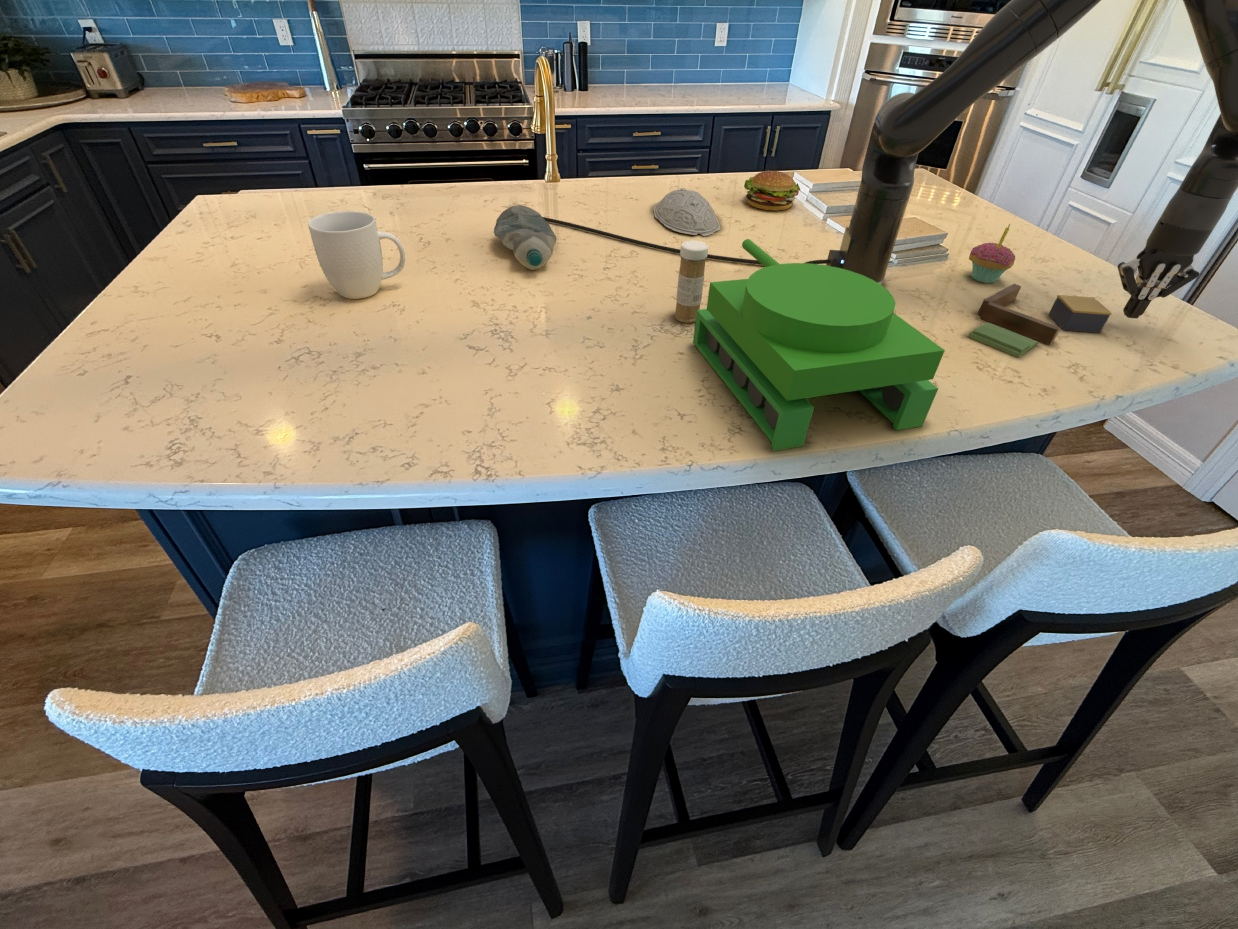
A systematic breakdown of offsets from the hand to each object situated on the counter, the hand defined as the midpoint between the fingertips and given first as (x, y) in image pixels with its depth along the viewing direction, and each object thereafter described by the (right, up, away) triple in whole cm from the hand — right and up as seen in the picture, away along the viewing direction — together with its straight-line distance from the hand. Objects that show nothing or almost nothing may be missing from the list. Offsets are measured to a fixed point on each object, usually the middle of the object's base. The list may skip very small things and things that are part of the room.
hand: (1130, 316), depth 115 cm
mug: (-141, +5, +2) cm, 141 cm away
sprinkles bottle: (-82, -1, -2) cm, 82 cm away
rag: (-26, -5, -5) cm, 27 cm away
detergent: (-113, +17, +18) cm, 116 cm away
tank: (-67, -13, -15) cm, 70 cm away
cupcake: (-17, +12, +17) cm, 27 cm away
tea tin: (-9, -1, +2) cm, 9 cm away
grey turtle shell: (-77, +33, +40) cm, 93 cm away
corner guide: (-21, 0, +2) cm, 22 cm away
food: (-54, +42, +51) cm, 85 cm away
